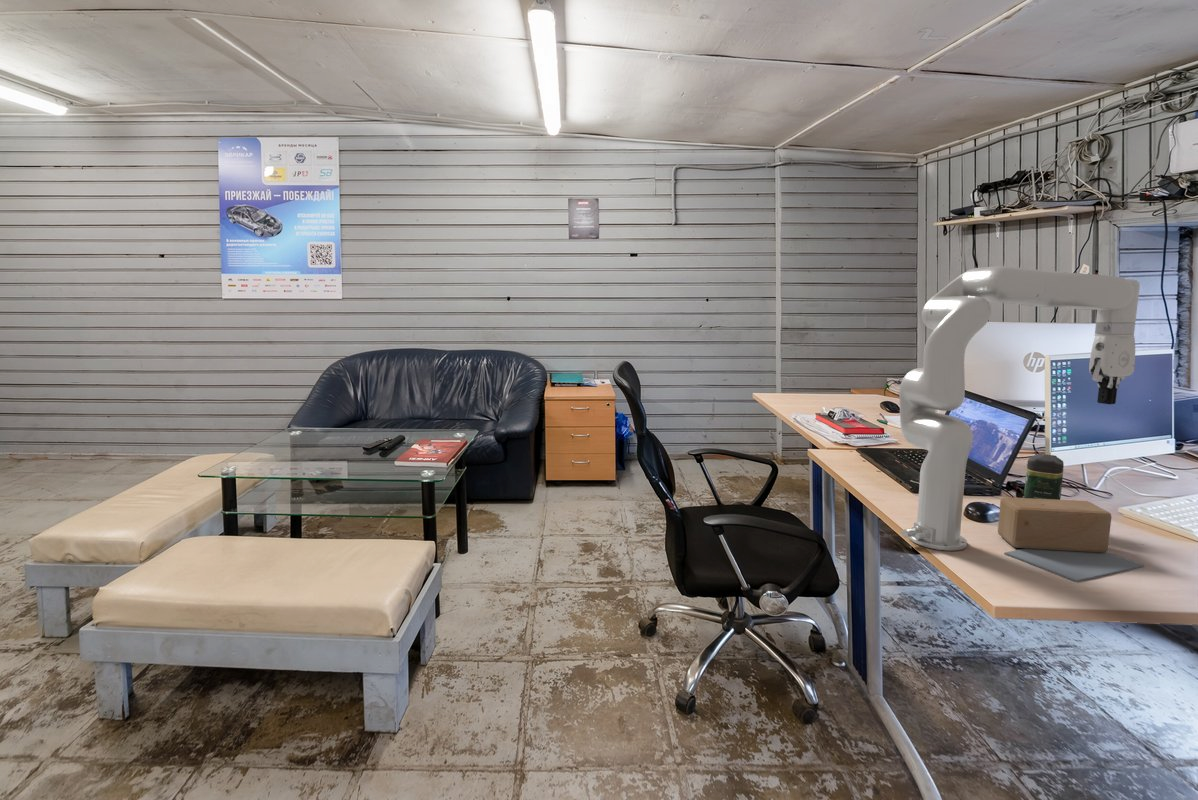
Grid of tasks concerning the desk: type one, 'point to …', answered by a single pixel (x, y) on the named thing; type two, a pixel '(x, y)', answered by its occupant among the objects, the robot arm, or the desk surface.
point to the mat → (1074, 562)
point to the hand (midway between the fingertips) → (1106, 403)
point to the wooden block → (1054, 524)
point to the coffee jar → (1044, 477)
